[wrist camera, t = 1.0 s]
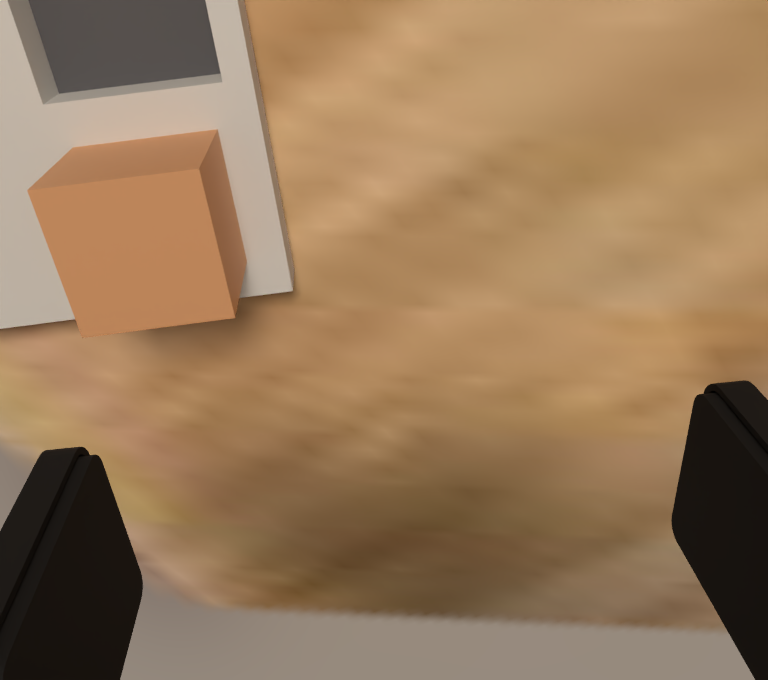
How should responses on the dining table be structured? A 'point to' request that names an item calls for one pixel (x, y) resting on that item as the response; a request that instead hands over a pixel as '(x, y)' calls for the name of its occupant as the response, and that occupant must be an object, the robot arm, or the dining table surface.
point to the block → (143, 232)
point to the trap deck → (128, 121)
